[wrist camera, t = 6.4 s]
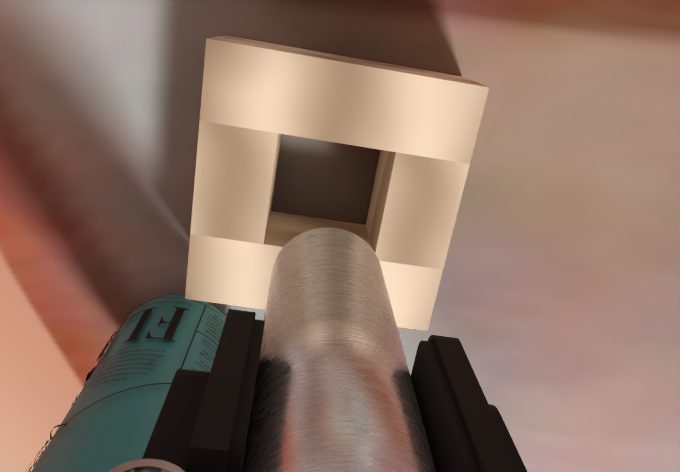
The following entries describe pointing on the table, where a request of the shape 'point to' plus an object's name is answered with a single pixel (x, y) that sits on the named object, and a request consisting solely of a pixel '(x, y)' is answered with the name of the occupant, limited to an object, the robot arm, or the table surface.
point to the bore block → (334, 126)
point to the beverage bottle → (133, 384)
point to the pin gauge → (333, 367)
